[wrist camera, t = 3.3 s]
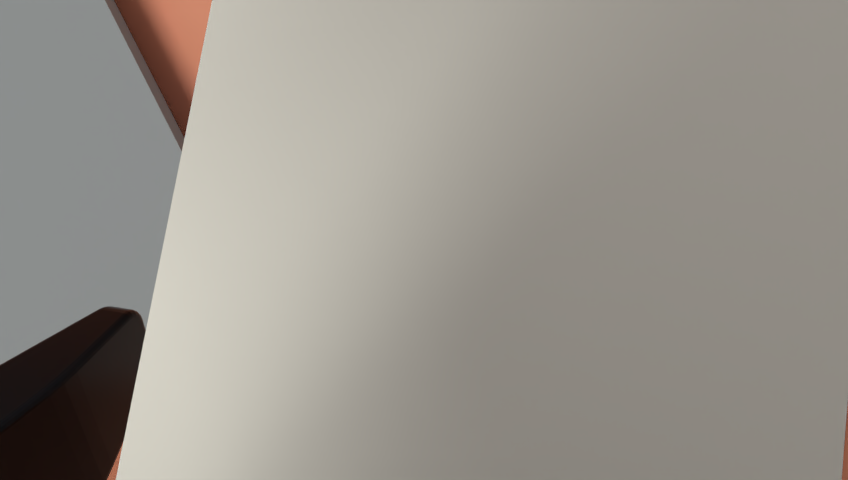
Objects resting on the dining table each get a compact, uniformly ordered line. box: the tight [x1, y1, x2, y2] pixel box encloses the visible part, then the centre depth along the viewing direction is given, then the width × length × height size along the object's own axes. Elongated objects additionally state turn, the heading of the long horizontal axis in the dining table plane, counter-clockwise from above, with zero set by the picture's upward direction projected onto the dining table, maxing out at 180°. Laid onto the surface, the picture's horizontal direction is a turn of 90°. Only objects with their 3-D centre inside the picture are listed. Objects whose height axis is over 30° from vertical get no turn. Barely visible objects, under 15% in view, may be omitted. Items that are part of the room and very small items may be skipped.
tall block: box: [116, 0, 848, 480], centre depth 11 cm, size 4×4×13 cm
